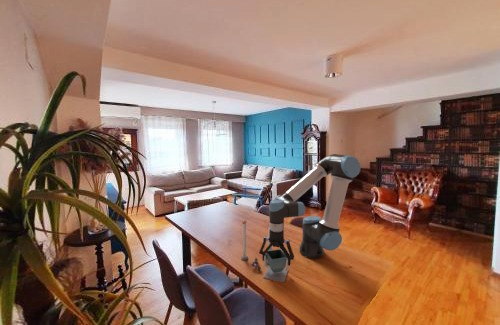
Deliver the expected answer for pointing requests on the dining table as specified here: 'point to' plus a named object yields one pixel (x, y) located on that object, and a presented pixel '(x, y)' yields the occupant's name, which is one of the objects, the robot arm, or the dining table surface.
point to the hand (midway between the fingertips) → (276, 268)
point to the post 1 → (244, 241)
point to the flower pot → (276, 260)
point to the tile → (275, 275)
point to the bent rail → (256, 265)
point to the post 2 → (268, 245)
